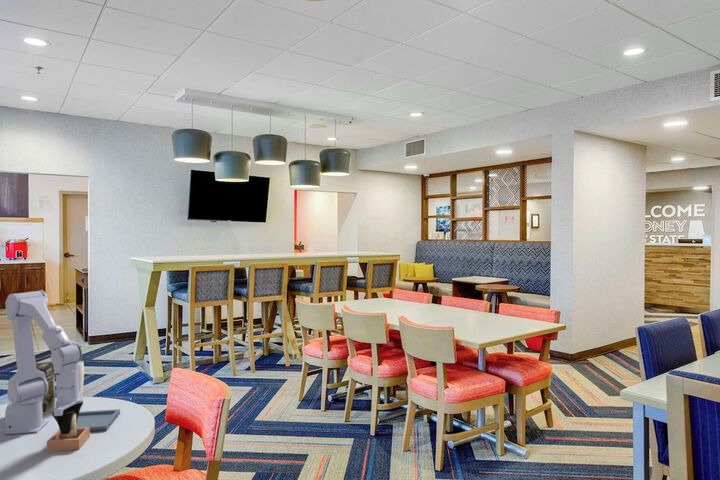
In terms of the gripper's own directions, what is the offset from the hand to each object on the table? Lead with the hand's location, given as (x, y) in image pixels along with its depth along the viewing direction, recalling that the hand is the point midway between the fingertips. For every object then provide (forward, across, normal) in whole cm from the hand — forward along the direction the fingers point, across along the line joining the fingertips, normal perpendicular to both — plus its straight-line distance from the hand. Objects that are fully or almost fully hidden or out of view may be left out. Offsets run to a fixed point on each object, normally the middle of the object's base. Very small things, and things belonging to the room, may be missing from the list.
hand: (68, 430), depth 150 cm
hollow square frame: (+4, 0, 0) cm, 4 cm away
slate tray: (+4, +15, -1) cm, 16 cm away
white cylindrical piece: (+4, +34, +11) cm, 36 cm away
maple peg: (+4, 0, 0) cm, 4 cm away
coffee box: (+4, +29, +20) cm, 36 cm away
